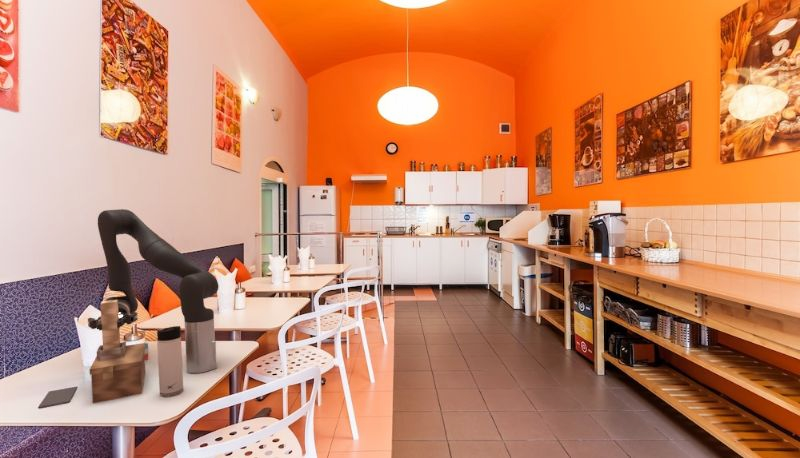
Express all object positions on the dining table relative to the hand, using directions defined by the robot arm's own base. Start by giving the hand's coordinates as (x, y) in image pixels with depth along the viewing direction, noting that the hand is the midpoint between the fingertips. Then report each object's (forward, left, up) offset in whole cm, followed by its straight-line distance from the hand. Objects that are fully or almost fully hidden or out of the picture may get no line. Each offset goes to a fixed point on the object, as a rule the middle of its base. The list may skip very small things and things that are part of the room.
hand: (109, 325), depth 127 cm
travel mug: (-16, +11, -20) cm, 28 cm away
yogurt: (-5, -23, -21) cm, 31 cm away
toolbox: (-2, -3, -20) cm, 20 cm away
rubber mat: (+14, -3, -20) cm, 24 cm away
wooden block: (0, -3, -9) cm, 9 cm away
